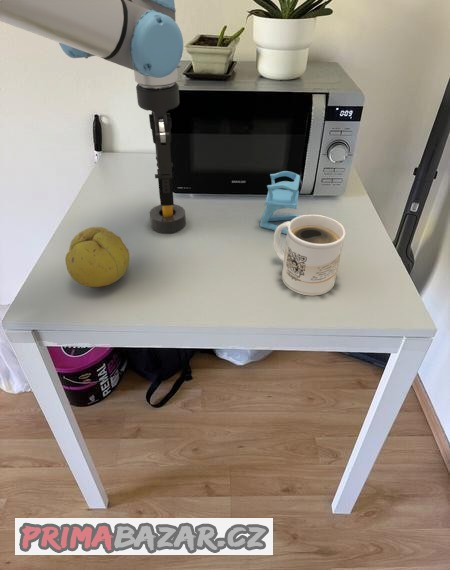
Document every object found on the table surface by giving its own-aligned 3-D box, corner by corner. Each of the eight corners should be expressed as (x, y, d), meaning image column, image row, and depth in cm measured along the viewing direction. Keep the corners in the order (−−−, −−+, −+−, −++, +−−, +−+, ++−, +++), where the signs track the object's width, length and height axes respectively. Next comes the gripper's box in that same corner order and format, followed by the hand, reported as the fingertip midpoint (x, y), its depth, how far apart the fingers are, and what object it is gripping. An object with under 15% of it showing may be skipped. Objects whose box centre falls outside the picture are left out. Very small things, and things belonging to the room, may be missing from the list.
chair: (262, 214, 101) (266, 164, 93) (299, 218, 99) (306, 168, 92) (257, 232, 95) (261, 180, 87) (296, 236, 94) (304, 185, 86)
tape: (151, 235, 93) (150, 223, 91) (150, 216, 99) (148, 204, 97) (187, 232, 94) (186, 220, 92) (183, 214, 100) (183, 202, 98)
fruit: (138, 262, 86) (132, 218, 79) (124, 302, 77) (116, 256, 70) (82, 259, 86) (72, 215, 80) (61, 299, 77) (47, 252, 71)
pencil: (164, 226, 96) (158, 160, 86) (163, 221, 97) (157, 156, 88) (174, 225, 96) (169, 160, 86) (173, 220, 98) (168, 155, 88)
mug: (285, 298, 78) (292, 247, 71) (270, 259, 87) (274, 209, 80) (342, 293, 80) (354, 242, 73) (321, 254, 89) (330, 206, 82)
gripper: (182, 95, 73) (188, 218, 88) (174, 70, 84) (180, 183, 99) (136, 97, 72) (150, 221, 87) (134, 72, 83) (147, 185, 98)
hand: (166, 201), depth 93 cm, fingers closed on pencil, 2 cm apart
